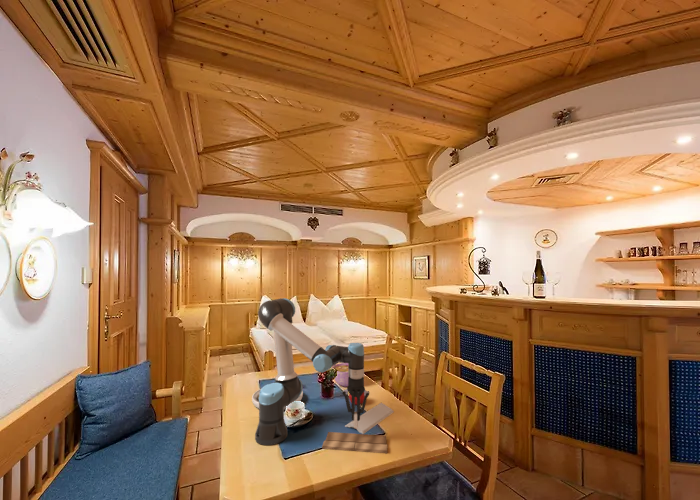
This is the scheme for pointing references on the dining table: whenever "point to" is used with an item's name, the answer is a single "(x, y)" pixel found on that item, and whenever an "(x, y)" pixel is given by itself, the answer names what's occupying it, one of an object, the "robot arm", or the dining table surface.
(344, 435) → the plank
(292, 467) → the dining table surface
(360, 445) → the laid row
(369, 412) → the crown molding
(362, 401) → the pomegranate
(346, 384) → the bowl of food
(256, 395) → the bowl
